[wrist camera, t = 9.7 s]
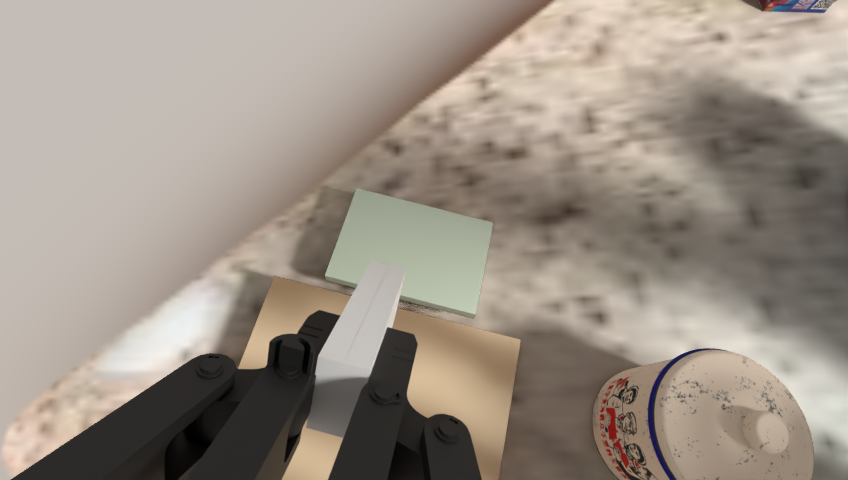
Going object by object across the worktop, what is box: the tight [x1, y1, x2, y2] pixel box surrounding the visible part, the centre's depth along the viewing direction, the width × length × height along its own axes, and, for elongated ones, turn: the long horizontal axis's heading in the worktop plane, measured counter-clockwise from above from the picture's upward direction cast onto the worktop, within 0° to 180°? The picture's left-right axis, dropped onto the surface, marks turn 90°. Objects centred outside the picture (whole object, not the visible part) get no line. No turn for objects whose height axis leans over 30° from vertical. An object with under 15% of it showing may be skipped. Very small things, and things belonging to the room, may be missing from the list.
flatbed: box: [238, 276, 521, 480], centre depth 27 cm, size 17×18×9 cm
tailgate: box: [325, 188, 493, 318], centre depth 34 cm, size 2×11×8 cm
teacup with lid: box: [592, 349, 814, 480], centre depth 27 cm, size 12×9×12 cm
